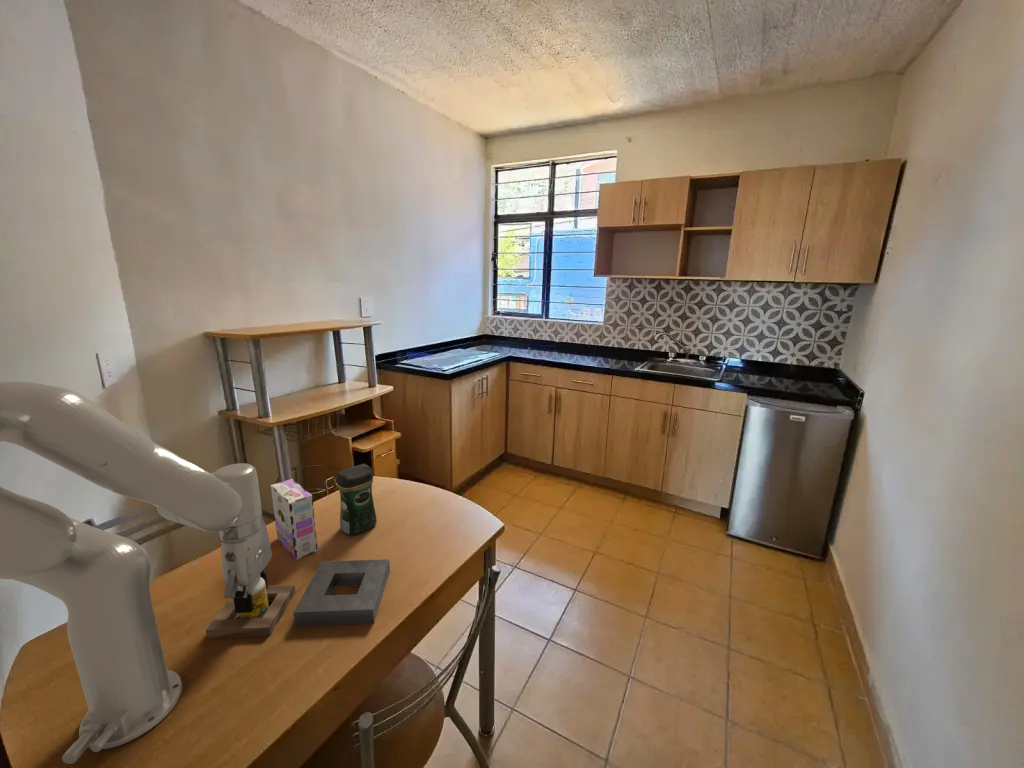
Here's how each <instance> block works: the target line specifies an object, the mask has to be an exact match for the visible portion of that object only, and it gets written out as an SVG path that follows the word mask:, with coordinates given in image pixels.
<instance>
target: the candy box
mask: <svg viewBox="0 0 1024 768" xmlns="http://www.w3.org/2000/svg"><path fill="white" fill-rule="evenodd" d="M270 491H271V492H270V493H271V494H270V495H271V500H272V502H271V503H272V509H273V515H274V516H273V517H274V523H275V529H276V537H277V540H278V542H280V544H281V545H282V546H283V547H284V549H286V551H287V552H288V553H289V554H290V555H291V557H293V559H294V560H295V561H298V560H300V559H302V558H305V557H307V556H310V555H312V554H315V553H317V552H318V551H319V550H318V541H317V540H318V539H317V532H316V521H315V519H316V518H315V508H314V501H313V500H314V498H313V495H312V493H310V492H308V491H307V490H306V488H305V489H304V487H302V486H301V485H300V484H299V483H298V482H296V481H295V480H294V479H293V478H291V479H287V480H284V481H281V482H277V483H274V484H271V485H270Z"/></svg>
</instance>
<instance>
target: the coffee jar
mask: <svg viewBox="0 0 1024 768" xmlns="http://www.w3.org/2000/svg"><path fill="white" fill-rule="evenodd" d="M373 483H374V475H373V471H372V468H371V467H370V466H369V465H368V464H366V463H362V464H358V465H355V466H352V467H348V468H346V469H344V470H343V469H342V470H340V471H337V472H336V487H337V489H338V490H339V497H340V515H339V517H340V518H339V519H340V521H339V522H340V523H339V524H340V525H339V526H340V529H341V530H342V532H343V533H344V534H346V535H350V536H355V535H357V534H360V533H364V532H365V531H368V530H370V529H371V528H373V527H374V526H376V524H377V522H378V521H377V513H376V509H375V503H374V497H373Z"/></svg>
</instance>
